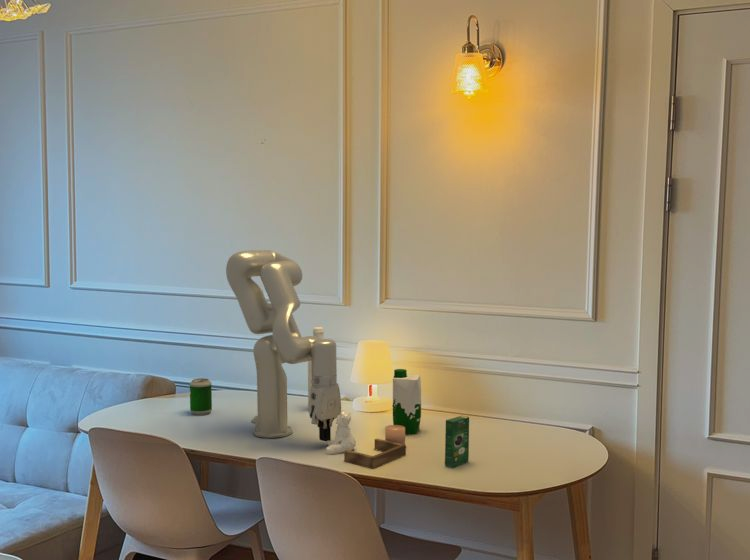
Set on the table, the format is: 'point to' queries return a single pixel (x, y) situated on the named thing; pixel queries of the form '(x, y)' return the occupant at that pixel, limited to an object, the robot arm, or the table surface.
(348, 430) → the white creature statuette
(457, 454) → the coffee box
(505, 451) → the table surface
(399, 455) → the display bay
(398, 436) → the tan rounded cylinder
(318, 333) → the bottle
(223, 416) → the table surface
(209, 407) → the soda can
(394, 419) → the milk carton
